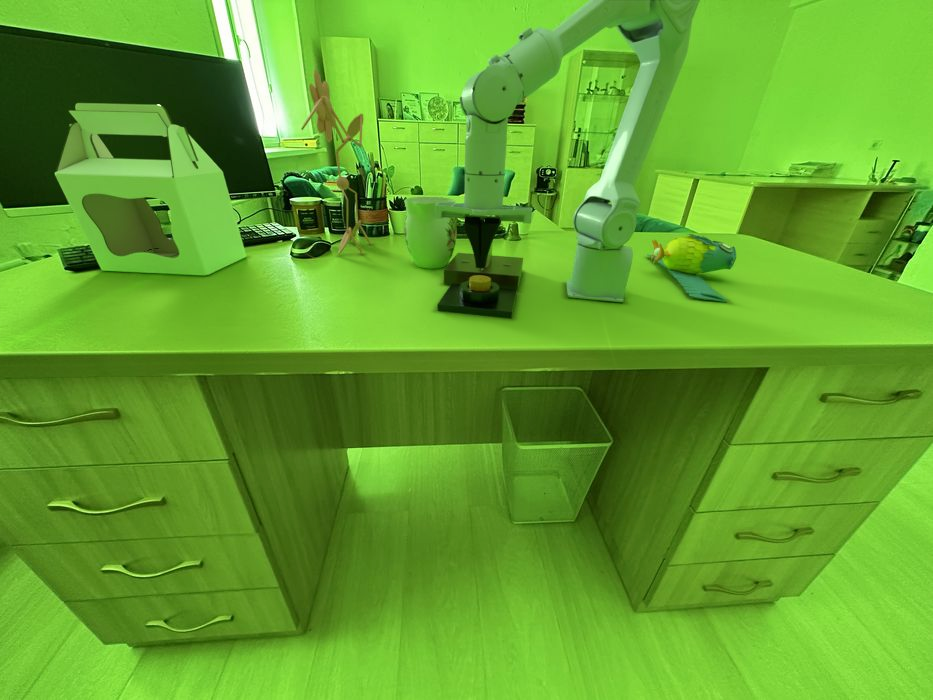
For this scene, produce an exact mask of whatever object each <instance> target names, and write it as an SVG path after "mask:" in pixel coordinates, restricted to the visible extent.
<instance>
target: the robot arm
mask: <svg viewBox="0 0 933 700" xmlns="http://www.w3.org/2000/svg"><path fill="white" fill-rule="evenodd" d="M700 2H701V0H587V2H585V3H584V4H583V5H582V6H580V7H579V8H578V9H577V10H575V11H574V12H573V13H572V14H571V15H570V16H568V17H567V18H566V19H564V20H563V21H562V22H560V24H558V25H557V26H556V27H555V28H554V29H552V30H551V29H549V28H546V27H543V26H538V27H535V28H534V29H533V28H532V27H531V26H529V27H527V28H526V29H524V30H523V31H522V32H520V33H519V34H518V39H519V40H518V42H516V43H515V44H513V45H512V46H511V47H510V48H508V49H507V50H506V51H505V52H503V53H502V54H500V55H498V54H497V53H496V54H494V55H493V56H491V57H490V58H489V59H488V60H487V62H488V65H487V66H486V68H485V69H482V70H480V71H478V72H476V73H474V74H472V75H471V76H470V77H469V78H468V79H467V80H466V82H465V83H464V87H463V88H462V93H461V96H459V104H460V108H461V111H462V114H463V115H464V116H465V136H464V137H465V138H464V143H465V144H464V151H465V152H464V201H463V202H455V203H437V204H436V205H435V218H455V219H463V220H464V223H463V225H462V227H463V230H464V232H465V235H466V236H467V238H468V241H469V243H470V247H471V249H472V254H474V258H475V264H476V268H485V266H486V262H487V257H488V253H489V250H490V247H491V244H492V241H493V242H494V239H495V236H496V234H497V233H498V230H499V228H500V226H501V224H502V222H511V223H512V222H514V223H523V224H531V223H532V217H533V207H528V206H527V207H526V206H517V205H516V206H515V205H509V204H508V205H507V204H504V191H505V189H504V188H505V175H506V173H505V171H506V156H507V144H508V141H507V140H508V125H509V123H508V122H509V118H510V117H511V116H512V115H513V113H514V111H515V110H516V107H517V105H518V104H520V103H522V102H523V101H524V100H526V99H527V98H528V97H530V96H531V95H532V94H534V93H535V92H536V91H538V90H539V89H540V88H542V87H543V86H544V85H546V84H547V83H548V82H549V81H551V80H552V79H554V78H555V77H556V76H557V75H558V73H559V72H560V69H561V65H562V61H563V58H564V57H565V56H566V55H568V54H569V53H571V52H572V51H573V50H575V49H577V48H578V47H580V46H581V45H583V43H585V42H587V41H588V40H590V39H591V38H592V37H594V36H595V35H597V34H598V33H600V32H601V31H602V30H604V29H605V28H607V29H612V28H614V27H615V28H616V29H617V31H618V32H619V33H620V35H621V36H622V38H623V39H624V41H626V43H627V44H628V46H629V47H630V48H631V49H632V51H633V52H634V54H635V55H637V58H638V61H639V63H640V64H639V68H638V71H637V74H636V76H635V80H634V82H633V85H632V88H631V90H630V93H629V96H628V99H627V102H626V105H625V108H624V111H623V113H622V117H621V119H620V122H619V125H618V127H617V130H616V133H615V136H614V138H613V141H612V144H611V147H610V150H609V152H608V156H607V158H606V161H605V164H604V167H603V170H602V172H601V175H600V177H599V180H598V181H596V182H595V183H594V184H592V186H590V188H588V189H587V191H586V193H585V196H584V198H583V200H582V201H581V203H580V204H579V205H578V207H576V210H575V211H574V213H573V216H572V226H573V229H574V232H576V233H577V235H576V240H577V243H576V248H575V254H574V260H573V266H572V272H571V276H570V277H571V278H570V280H567V281H566V293H567V297H568V298H570V299H582V300H593V301H602V302H603V301H604V302H614V303H624V300H625V299H624V296H625V294H626V293H625V292H626V289H627V285H628V280H629V278H630V272H631V269H632V264H633V257H634V253H633V248H632V247H631V246H627V245H625V244H626V243H628V242H629V241H630V239H631V238H632V237H633V235H634V233H635V231H636V228H637V216H638V212H639V209H640V206H641V200H640V199H639V196H638V194H637V192H636V190H635V185H636V183H637V181H638V179H639V175H640V174H641V171H642V169H643V166H644V163H645V161H646V159H647V156H648V153H649V151H650V148H651V146H652V144H653V140H654V138H655V135H656V133H657V131H658V128H659V126H660V123H661V121H662V118H663V115H664V113H665V111H666V108H667V105H668V103H669V100H670V98H671V95H672V93H673V90H674V88H675V85H676V83H677V80H678V78H679V76H680V73H681V70H682V68H683V65H684V63H685V60H686V57H687V55H688V51H689V46H690V45H689V44H690V38H691V32H692V31H691V30H692V24H693V19H694V16H695V14H696V11H697V9H698V6H699V4H700ZM610 203H611V204H610Z"/></svg>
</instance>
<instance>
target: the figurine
mask: <svg viewBox="0 0 933 700" xmlns="http://www.w3.org/2000/svg"><path fill="white" fill-rule="evenodd" d="M313 81H314V84H312V83H311V82H310V83H309V84H308V88H309V93H310V97H311V100H312V103H313V108H312V110H311V111H310V113H308V116H307V117H306V119H305V121H304V123H303V125H302V126H301V128H300V129H301V130H302V131H304V129H305V128H306V126H307V125H308V123H309V122H310V121H311V119H312V118H313V116H314V114H316V128H317V131H318V133H319V134H323V133H325V139H326V141H327V142H328V144H330V143H331V142H332V141H333V129H334V130H335V131H336V133H337V135H338V137H339V139H340V141H341V143H342V144H341V145H340V146H339V147H337V148H336V149H335V153H334V154H335V159H336V166H337V172H338V177H337V179H336V182H335V183H336V187H338V189H340V190H341V192H342V194H343V195H344V198H345V200H346V230H345V232H344V234H343V235H342V237H341V240H340V243H339V247H338V252H337V255H341V253H342V252H343V251H344V249H345V248H346V247H347V244H348V242H351V241H352V242H353V243H354V245H355V246H356V249H357V250H358V251H359V253H360V254H361V255H363V254H364V252H363V250H362V248H361V247H360V245H359V244H358V242H357V241H356V239H355V235H356V234H357V233H358V230H359V229H360V231H361V232H362V234H363V236H364V237H365V239H366V241H367V242H368V244H369V245H370V246H371V245H372V244H373V243H372V242H371V240H370V238H369V237H368V235H367V234H366V233H367V232H366V231H365V230H364V228H363V227H362V225H361V224H362V220H361V219H359V212H358V211H359V210H358V193H357V192H356V191H355V190H353V189H352V188H350V182H349V180H348V179H347V177H345V176H342V175H341V166H340V157H339V152H340V151H341V150H342V149H343V148H344V147H345V146H346V145H347V143H348V142H353V143H354V144H355V145H356V146H358V147H359V148H362V146H363V144H362V143H363V126H364V119H365V118H364V114H363V113H359V114H358V115H357V116H355V117H354V118H353V119H352V120H351V122H350V123H349V125H348V127H347V130H346V129H345V127H344V125H343V123H342V122H341V120H340V118H339V116H338V115H337V114H336V112H335V110H334V108H333V105H332V102H331V93H330V86H329V83H328V81H326V80H324V81H323V82H322V77H321V75H320V73H319V72H318V70H317V69H314V70H313ZM337 123H338V124H337ZM338 125H339V126H340V128H341V130H342V131H343V133H344V135H345V136H346V137H343V136H342V133H341V131H340V129H339V126H338ZM358 133H359V138H358V141H357V140H355V139H354V138H355V137H356V136H358ZM347 189H348V190H349V191H351V192H352V193H354V198H355V199H354V201H355V214H356V215H355V216H356V222H355V224H354V227H353V228H352V227H350V226H349V198H348V197H347V194H346V193H345V190H347ZM373 238H374V239H379V237H376V236H373V237H372V239H373ZM315 245H316V243H314V244H311V245H309V246H306V247H305V249H306V251H305V252H307V250H309V248H311V247H313V246H315ZM303 254H304V255H306V254H305V253H303ZM308 257H310V258H313V259H315V257H314V256H311V255H310V254H308Z"/></svg>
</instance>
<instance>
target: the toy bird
mask: <svg viewBox="0 0 933 700" xmlns="http://www.w3.org/2000/svg"><path fill="white" fill-rule="evenodd" d="M651 241H652V245H653V250H654V251H653V253H652V254H649V253H648V254H646V256H648V257H649V258H650V259H649V261H652V260H653V262H652V263H653V264H654V263H658V264H659V265H661V266H662V267H663V268H664V269H666V270H667V271H668V272H669V274H671V275H672V277H673V278H674V279H676V281H678V283H679V284H680V286H682V287H683V288H682V289H684V291H685V293H686V294H688V296H690V297H691V298H695V299H699V300H705V301H708V302H722V303H728V301H727V299H726V298H725V297H724V296H723V295H722V294H720V293H718V292H717V291H716V290H715V289H713V287H712V286H710V284H709V283H707V281H705V279H703V278H702V277H701V276H700V274H706V273H710V272H716V271H722V270H732V268H733V267H734V265H735V263H736V260H737V250H736V247H735V246H730V245H729V244H726V243H724V242H722V241H717V240H712V239H709V238H707V237H705V236H704V235H697V234H696V235H695V234H692V233H687V235H686V236H681V237H675V238H673V239H672V240H670V242H668V243H667V244H666V246H665V248H664V247H663V245H662V244H661V243H659V242H658V241H657V240H656V239H654V240H653V239H652V240H651Z"/></svg>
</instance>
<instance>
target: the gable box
mask: <svg viewBox="0 0 933 700" xmlns="http://www.w3.org/2000/svg"><path fill="white" fill-rule="evenodd" d="M74 108H75V109H69V110H68V112H69V114H70V115H71V116H72V117H73V118H74V120H75V121H76V122H73V123H69V127H68V130H67V134H66V137H65V140H64V144H63V146H62V150H61V153H60V156H59V160H58V163H57V166H56V169H55V171H54V176H55V179H56V181H57V182H58V184H59V186H60V188H61V190H62V192H63V194H64V196H65V198H66V201H67V203H68V205H69V207H70V208H71V211H72V212H73V214H74V217H75V219H76V221H77V224H78V225H79V226H80V229H81V231H82V234H83V235H84V237H85V239H86V241H87V244H88V245H89V248H90V250H91V251H92V254H93V257H94V258H95V260H96V262H97V264H98V266H99V268H100V270H101V271H104V272H117V273H118V272H119V273H120V272H122V273H141V274H159V275H160V274H161V275H162V274H163V275H184V276H203V277H204V276H205V277H206V276H209V275H212V274H214V273H216V272H218V271H221V270H222V269H224V268H226V267H229V266H230V265H233V264H234V263H237V262H239V261H241V260H243V259H245V258H247V253H246V249H245V245H244V242H243V239H242V235H241V232H240V229H239V224H238V221H237V218H236V214H235V211H234V207H233V203H232V199H231V197H230V196H231V195H230V193H229V189H228V186H227V182H226V178H225V175H224V171H223V170H222V169H221V168H220V167H219V166H218V165H217V163H216V162H214V160H213V159H212V158H211V157H210V156H209V155H208V154H207V153H206V151H205V150H204V149H203V148H202V147H201V146H200V145H199V144H198V143H197V142H196V140H195V139H194V138H193V137H192V136H191V134H189V131H188V130H187V127H186V126H180V125H178V124H174V123H173V121H172V119H171V116H170V115H169V112H168V110H167V109H166V108H165V106H163V105H161V104H144V103H143V104H140V103H139V104H138V103H95V102H93V103H92V102H77V103H75V106H74ZM99 135H120V136H121V135H122V136H123V135H124V136H158V137H159V136H161V137H164V138H166V137H167V144H168V151H169V159H161V158H160V159H158V158H157V159H155V158H128V157H127V158H126V157H125V158H123V157H114V156H113V155H112V153H111V152H110V151H109V149H108V148H107V146H106V145H105V143H104V142H103V140H102V139H101V138H100V136H99ZM146 198H152V199H157V200H160V201H162V202H163V203H165V204H166V205H167V206H168V208H169V212H170V230H171V231H170V232H171V236H172V238H169V237H168V236H167V235H166V234H165V233H164V231H163V228H162V223H161V220H160V218H159V217H158V214H157V213H156V212H155V209H153V208H152V206H151V205H150V203H149V202H148V201H147V199H146ZM152 248H159V249H152ZM149 249H152V250H149ZM147 250H149V251H147ZM144 251H145V252H144Z"/></svg>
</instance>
